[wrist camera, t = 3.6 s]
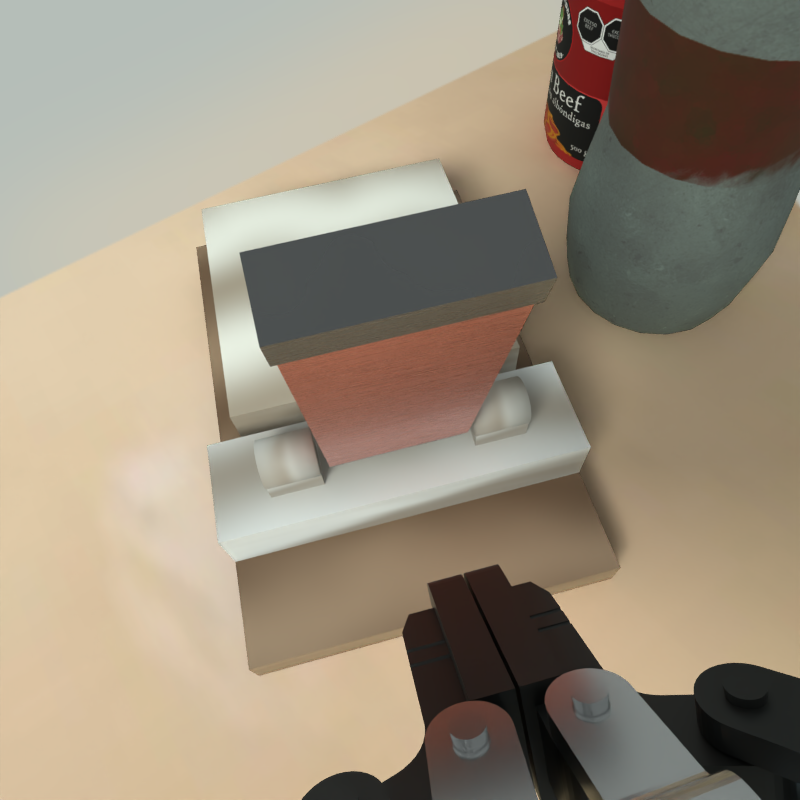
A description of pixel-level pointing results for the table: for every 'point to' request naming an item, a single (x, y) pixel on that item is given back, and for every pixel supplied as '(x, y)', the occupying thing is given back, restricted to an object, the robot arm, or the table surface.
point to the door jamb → (376, 461)
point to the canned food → (581, 75)
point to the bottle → (688, 161)
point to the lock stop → (398, 320)
